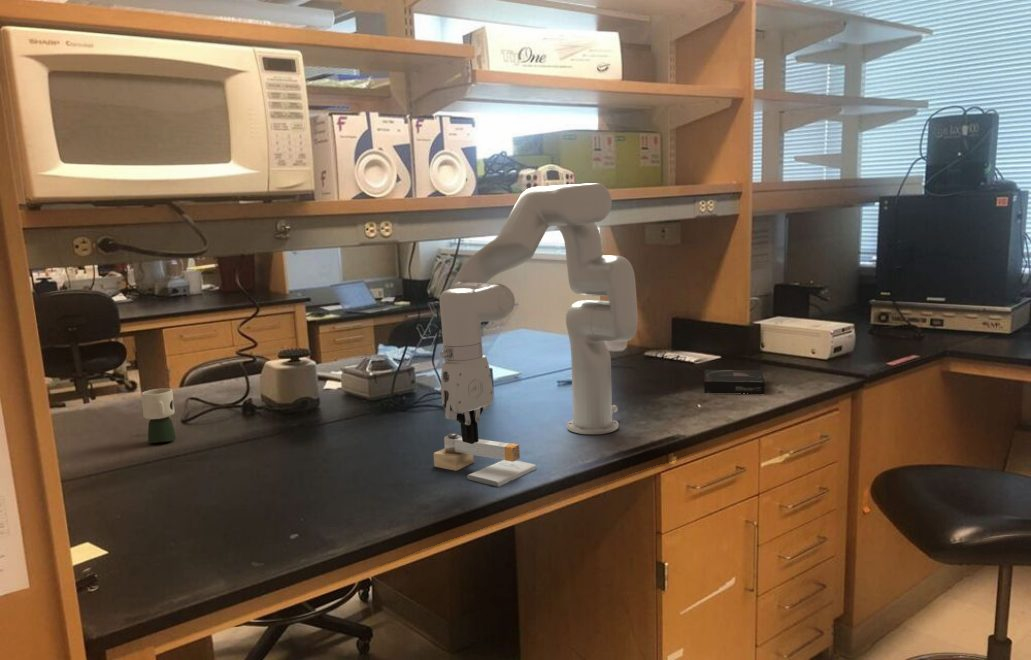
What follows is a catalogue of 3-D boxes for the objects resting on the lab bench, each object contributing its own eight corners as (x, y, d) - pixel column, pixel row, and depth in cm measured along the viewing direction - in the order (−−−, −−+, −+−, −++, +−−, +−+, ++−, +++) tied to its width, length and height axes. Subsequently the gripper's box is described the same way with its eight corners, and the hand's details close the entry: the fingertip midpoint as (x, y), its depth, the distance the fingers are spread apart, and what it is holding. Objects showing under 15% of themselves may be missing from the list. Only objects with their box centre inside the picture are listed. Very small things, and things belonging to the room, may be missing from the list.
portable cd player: (760, 382, 231) (760, 369, 230) (764, 396, 214) (764, 382, 214) (704, 382, 235) (704, 369, 234) (704, 395, 218) (704, 381, 218)
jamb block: (452, 458, 169) (451, 445, 168) (473, 462, 165) (472, 449, 165) (434, 466, 164) (433, 452, 164) (456, 470, 161) (455, 457, 160)
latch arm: (441, 451, 164) (440, 435, 163) (451, 446, 167) (450, 431, 166) (511, 462, 154) (511, 446, 154) (521, 457, 157) (520, 441, 157)
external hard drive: (467, 481, 155) (506, 464, 165) (498, 489, 150) (536, 471, 160) (467, 474, 155) (505, 457, 165) (498, 481, 150) (536, 463, 160)
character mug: (181, 444, 189) (176, 392, 187) (150, 449, 185) (144, 397, 183) (173, 434, 198) (168, 385, 196) (143, 440, 194) (137, 390, 192)
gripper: (445, 362, 141) (453, 456, 145) (504, 346, 152) (510, 435, 155) (421, 357, 147) (429, 448, 150) (478, 343, 157) (485, 428, 160)
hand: (470, 441), depth 153 cm, fingers closed
